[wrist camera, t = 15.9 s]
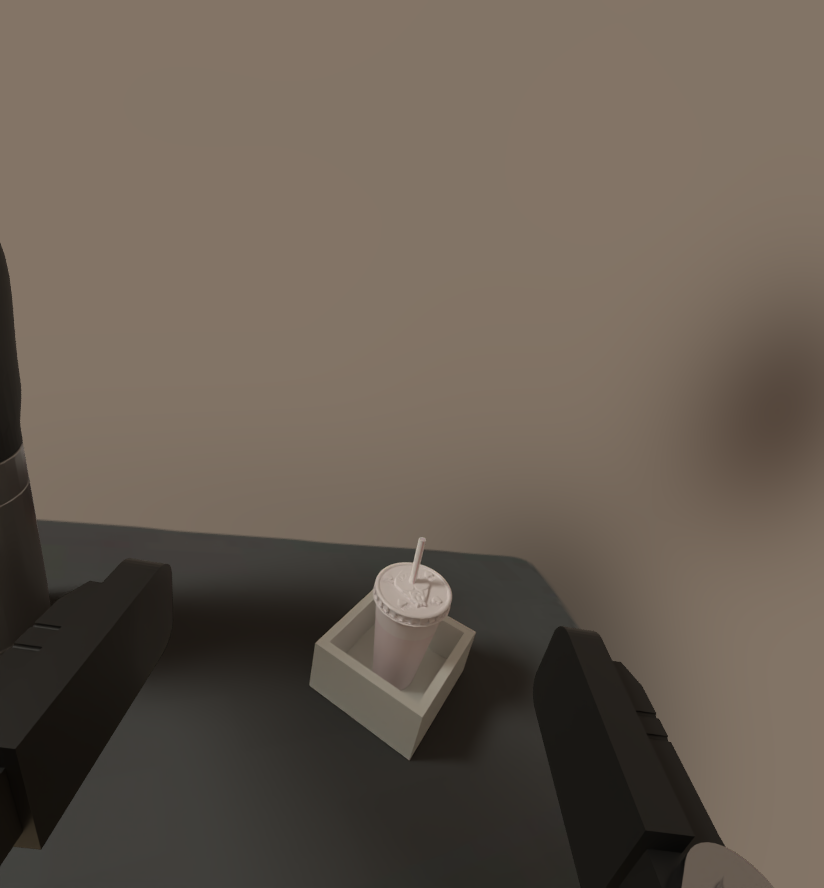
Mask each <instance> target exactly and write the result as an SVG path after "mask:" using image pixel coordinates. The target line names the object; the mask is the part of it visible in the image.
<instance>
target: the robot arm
mask: <svg viewBox="0 0 824 888" xmlns="http://www.w3.org/2000/svg"><path fill="white" fill-rule="evenodd" d="M20 409H21V383H20V376H19V368H18V360H17V351H16V341H15V330H14V317H13V305H12V294H11V286H10V278H9V273H8V268H7V264H6V259H5V255H4V252H3V249H2V247H1V244H0V865H1V864H2V862H3V861H4V859H5V858H6V856H7V855H8V853H9V852H10V850H11V849H12V847H21V848H30V849H39V850H41V849H42V847H43V846H44V844H45V842H46V841H47V839H48V838H49V836H50V834H51V833H52V831H53V830H54V828H55V826H56V825H57V823H58V822H59V820H60V818H61V817H62V815H63V813H64V812H65V810H66V809H67V807H68V805H69V804H70V802H71V801H72V799H73V797H74V796H75V794H76V793H77V791H78V789H79V788H80V786H81V784H82V783H83V781H84V780H85V778H86V776H87V775H88V773H89V772H90V770H91V768H92V767H93V765H94V764H95V762H96V760H97V759H98V757H99V755H100V754H101V752H102V751H103V749H104V747H105V746H106V744H107V743H108V741H109V739H110V738H111V736H112V735H113V733H114V731H115V730H116V728H117V726H118V725H119V723H120V722H121V720H122V718H123V717H124V715H125V714H126V712H127V710H128V709H129V707H130V706H131V704H132V702H133V701H134V699H135V697H136V696H137V694H138V693H139V691H140V689H141V688H142V686H143V685H144V683H145V681H146V680H147V678H148V677H149V675H150V673H151V672H152V670H153V669H154V667H155V665H156V664H157V662H158V660H159V659H160V657H161V656H162V654H163V652H164V650H165V648H166V646H167V644H168V641H169V638H170V635H171V631H172V626H173V599H172V571H171V567H170V565H168V564H164V563H157V562H151V561H144V560H138V559H131V558H128V559H126V560H124V561H123V562H121V563H120V564H119V565H118V566H117V568H116V569H115V570H114V571H113V572H112V573H111V574H110V575H109V576H108V577H107V578H106V579H105V580H104V582H103V583H100V582H93V581H89V582H87V583H85V584H83V585H82V586H80V587H78V588H76V589H75V590H73V591H71V592H70V593H68V594H66V595H64V596H63V597H61V598H59V599H58V600H57V601H56V602H55V603H54V604H53V605H52V606H51V603H50V597H49V591H48V584H47V578H46V572H45V566H44V561H43V555H42V549H41V543H40V538H39V532H38V526H37V520H36V515H35V509H34V503H33V497H32V492H31V486H30V480H29V476H28V470H27V464H26V459H25V453H24V447H23V442H22V434H21V428H20ZM533 699H534V707H535V711H536V715H537V719H538V723H539V727H540V731H541V734H542V738H543V742H544V746H545V750H546V754H547V758H548V762H549V766H550V769H551V773H552V777H553V781H554V785H555V789H556V793H557V797H558V801H559V804H560V808H561V812H562V816H563V820H564V824H565V828H566V832H567V836H568V840H569V843H570V847H571V851H572V855H573V859H574V863H575V867H576V871H577V875H578V878H579V882H580V886H581V888H774V887H773V886H772V885H771V884H770V883H769V881H768V880H767V879H766V878H765V877H764V876H763V875H762V874H761V873H760V872H759V871H758V870H757V869H756V868H755V867H754V866H753V865H752V864H751V863H749V862H748V861H747V860H746V859H744V858H743V857H741V856H740V855H739V854H737V853H736V852H734V851H732V850H730V849H728V848H726V847H725V845H724V844H723V842H722V840H721V838H720V837H719V835H718V833H717V831H716V829H715V827H714V825H713V823H712V821H711V819H710V817H709V815H708V814H707V812H706V810H705V808H704V806H703V804H702V802H701V800H700V798H699V796H698V794H697V792H696V790H695V788H694V786H693V785H692V782H691V780H690V778H689V777H688V775H687V773H686V771H685V769H684V767H683V765H682V763H681V761H680V759H679V757H678V755H677V753H676V751H675V749H674V747H673V745H672V743H671V742H668V739H667V737H668V736H667V734H666V732H665V730H664V728H663V726H662V724H661V722H660V720H659V719H657V718H656V712H655V710H654V708H653V707H652V704H651V702H650V701H649V699H648V697H647V695H646V693H645V691H644V689H643V687H642V686H641V684H640V683H639V682H638V681H637V680H636V679H635V678H634V677H633V675H632V674H631V673H630V672H629V671H628V670H627V669H626V667H625V666H624V665H623V664H622V663H621V662H616V661H612V660H611V657H610V655H609V653H608V651H607V649H606V647H605V645H604V643H603V640H602V639H601V637H600V635H599V634H598V633H597V632H594V631H589V630H582V629H576V628H569V627H563V626H560V627H558V628H557V629H556V630H555V632H554V634H553V636H552V638H551V641H550V643H549V645H548V648H547V650H546V652H545V654H544V657H543V659H542V661H541V664H540V666H539V668H538V671H537V673H536V676H535V680H534V687H533Z"/></svg>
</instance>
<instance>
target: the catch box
mask: <svg viewBox="0 0 824 888" xmlns="http://www.w3.org/2000/svg"><path fill="white" fill-rule="evenodd" d="M375 610H376V603H375V601H374V598H373V590H372V591H371V592H370V593H369V594H368V595H366V596H365V597H364V598H363V599H362V600H361V601H360V602H359V603H358V604H357V605H356V606H355V607H354V608H352V609H351V610H350V611H349V612H348V613H347V614H346V615H345V616H344V617H343V618H342V619H341V620H339V621H338V622H337V623H336V624H335V625H334V626H333V627H332V628H331V629H330V630H329V631H328V632H327V633H325V634H324V635H323V636H322V637H321V638H320V639H319V640H318V641H317V642H316V643H315V648H314V655H313V662H312V669H311V676H310V683H309V686H311V687H312V688H313V689H315V690H316V691H317V692H319V693H320V694H321V695H323V696H324V697H325V698H327V699H328V700H329V701H331V702H332V703H333V704H335V705H336V706H337V707H339V708H340V709H341V710H343V711H344V712H345V713H347V714H348V715H349V716H351V717H352V718H353V719H355V720H356V721H357V722H359V723H360V724H361V725H363V726H364V727H365V728H367V729H368V730H369V731H371V732H372V733H373V734H375V735H376V736H377V737H379V738H380V739H381V740H383V741H384V742H385V743H387V744H388V745H389V746H391V747H392V748H393V749H395V750H396V751H397V752H399V753H400V754H401V755H403V756H404V757H405V758H407V759H408V760H410V759H411V757H412V755H413V754H414V752H415V750H416V749H417V747H418V745H419V744H420V742H421V740H422V739H423V737H424V735H425V734H426V732H427V730H428V729H429V727H430V725H431V724H432V722H433V720H434V719H435V717H436V715H437V714H438V712H439V710H440V708H441V707H442V705H443V703H444V702H445V700H446V698H447V697H448V695H449V693H450V692H451V690H452V688H453V687H454V685H455V683H456V682H457V680H458V678H459V677H460V675H461V673H462V672H463V669H464V666H465V663H466V660H467V657H468V654H469V651H470V648H471V645H472V642H473V639H474V636H475V633H476V632H475V631H473V630H471V629H470V628H468V627H466V626H464V625H463V624H461V623H459V622H457V621H456V620H454V619H452V618H451V617H449V616H446V617H445V618H444V619H443V620H442V621H441V622H440V623H439V625H438V628H437V629H436V631H435V634H434V636H433V638H432V640H431V642H430V644H429V646H428V648H427V651H426V653H425V655H424V657H423V659H422V661H421V663H420V666H419V668H418V670H417V672H416V674H415V676H414V678H413V680H412V682H411V684H410V685H409V686H408V687H406V688H405V689H402V690H399V689H397V688H396V687H394V686H393V685H391V684H390V683H389V682H387V681H386V680H384V679H383V678H381V677H380V676H378V675H377V674H375V673H374V672H373V654H374V634H375Z"/></svg>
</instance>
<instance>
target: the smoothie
mask: <svg viewBox="0 0 824 888" xmlns="http://www.w3.org/2000/svg"><path fill="white" fill-rule="evenodd" d="M425 542H426V539H425V538H424V537H420V538H419V541H418V546H417V549H416V554H415V558H414V562H413V563H407V562H403V563H396V564H392V565H390V566H387V567H386V568H384V569H383V570H382V571H381V572H380V573H379V574H378V576H377V578H376V581H375V584H374V588H373V598H374V601H375V603H376V610H375V634H374V654H373V672H374V673H375V674H377V675H378V676H380V677H381V678H383V679H384V680H386V681H387V682H389V683H390V684H391V685H393V686H394V687H396V688H397V689H399V690H402V689H405V688H406V687H408V686H409V685H410V684H411V682H412V680H413V678H414V676H415V674H416V672H417V670H418V668H419V666H420V663H421V661H422V659H423V657H424V655H425V653H426V651H427V648H428V646H429V644H430V642H431V640H432V638H433V636H434V634H435V631H436V629H437V628H438V625H439V623H440V622H441V621H442V620H443V619H444V618H445V617H446V616H447V615H448V613H449V610H450V604H451V601H452V592H451V589H450V586H449V584H448V583H447V581H446V580H445V579H444V578H443V577H442V576H441V575H440V574H439V573H437V572H436V571H434V570H432V569H431V568H429V567H426V566H424V565H420V563H421V559H422V554H423V550H424V546H425Z"/></svg>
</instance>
